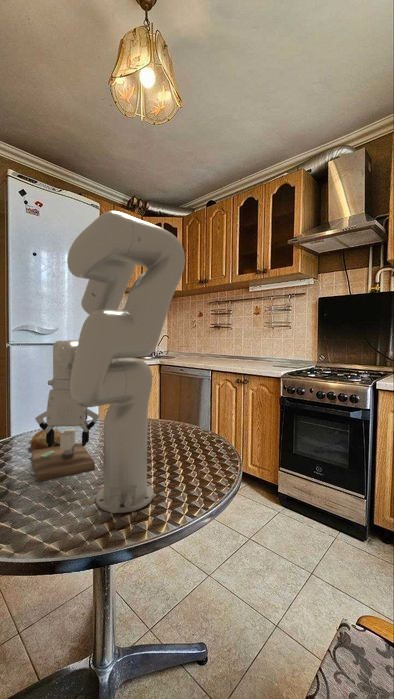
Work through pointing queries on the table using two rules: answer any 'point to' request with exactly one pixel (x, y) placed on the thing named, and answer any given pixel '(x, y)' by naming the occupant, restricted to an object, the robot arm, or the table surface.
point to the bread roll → (44, 440)
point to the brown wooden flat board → (61, 463)
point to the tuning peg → (67, 442)
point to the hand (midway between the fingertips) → (68, 445)
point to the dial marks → (50, 453)
